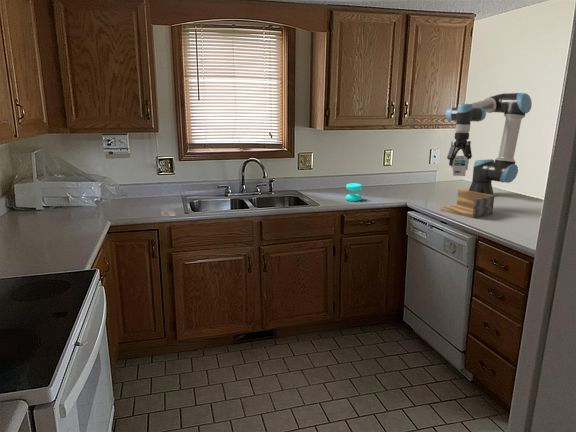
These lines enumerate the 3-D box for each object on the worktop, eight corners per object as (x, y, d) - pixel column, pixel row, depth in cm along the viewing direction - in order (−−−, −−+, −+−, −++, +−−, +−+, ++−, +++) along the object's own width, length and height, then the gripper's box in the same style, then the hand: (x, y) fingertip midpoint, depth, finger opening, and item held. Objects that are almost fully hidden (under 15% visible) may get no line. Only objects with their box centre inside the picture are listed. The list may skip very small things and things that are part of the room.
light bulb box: (465, 176, 247) (467, 157, 245) (452, 175, 249) (454, 156, 246) (462, 173, 257) (464, 155, 255) (450, 173, 259) (452, 154, 256)
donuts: (359, 182, 280) (364, 185, 271) (358, 198, 283) (363, 201, 273) (344, 183, 279) (348, 186, 269) (343, 198, 281) (348, 202, 272)
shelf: (457, 206, 258) (459, 189, 255) (492, 214, 241) (494, 195, 238) (440, 210, 249) (441, 192, 247) (474, 218, 232) (476, 198, 229)
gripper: (469, 131, 257) (465, 168, 262) (442, 132, 244) (438, 171, 249) (481, 132, 250) (476, 170, 256) (454, 132, 238) (450, 172, 243)
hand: (458, 170), depth 252 cm, fingers closed on light bulb box, 12 cm apart
